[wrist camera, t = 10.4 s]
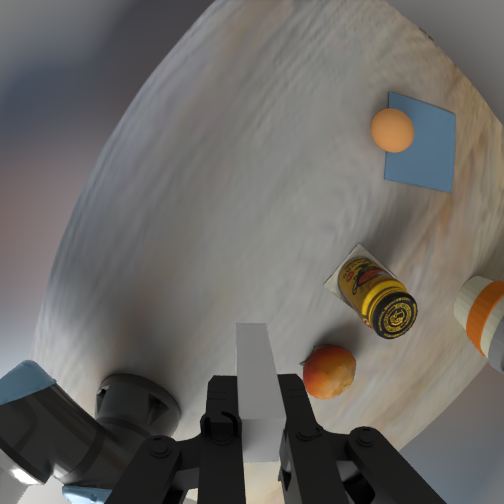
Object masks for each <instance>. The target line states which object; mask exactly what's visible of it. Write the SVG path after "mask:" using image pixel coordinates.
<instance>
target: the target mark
mask: <svg viewBox="0 0 504 504" xmlns="http://www.w3.org/2000/svg"><path fill="white" fill-rule="evenodd" d="M388 108H393V109H397V110H400V111H402V112H403V113H405V114H406V115H407V116H408V117H409V118H410V120H411V122H412V124H413V127H414V139H413V141H412V143H411V145H410V146H409V147H408V148H407V149H406V150H404V151H401V152H397V153H392V152H388V151H386V162H385V174H384V179H386V180H391V181H397V182H402V183H407V184H412V185H417V186H422V187H426V188H431V189H436V190H440V191H444V192H448V193H451V191H452V181H453V170H454V156H455V115H454V114H452V113H450V112H447V111H445V110H442V109H440V108H437V107H434V106H432V105H429V104H426V103H423V102H420V101H417V100H415V99H412V98H408V97H405V96H402V95H399V94H396V93H392V92H389V99H388Z"/></svg>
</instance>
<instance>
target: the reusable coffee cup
mask: <svg viewBox="0 0 504 504" xmlns="http://www.w3.org/2000/svg"><path fill="white" fill-rule="evenodd" d="M454 314H455V317H456V319H457V320H458V321H459V323H460V324H461V325H462V326H463V327H464V329H465V330H466V332H467V336H468V337H469V339H470V340H471V341H472V343H473V344H474V345H475V347H476V348H477V349H478V350H479V352H480V353H481V354H482V355H484V356H486V357H487V358H488V362H489V364H490V365H491V366H492V367H494V368H495V369H496V370H498V371H499V372H500V373H502V374H504V282H503V281H493V280H490V279H487V278H484V277H482V276H475V277H472V278H471V279H469V280H468V281H467V282H466V283H465V284H464V285H463V287H462V288H461V290H460V291H459V293H458V295H457V298H456V301H455V305H454Z"/></svg>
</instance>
